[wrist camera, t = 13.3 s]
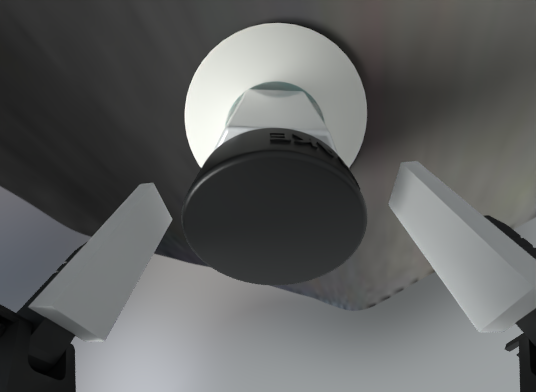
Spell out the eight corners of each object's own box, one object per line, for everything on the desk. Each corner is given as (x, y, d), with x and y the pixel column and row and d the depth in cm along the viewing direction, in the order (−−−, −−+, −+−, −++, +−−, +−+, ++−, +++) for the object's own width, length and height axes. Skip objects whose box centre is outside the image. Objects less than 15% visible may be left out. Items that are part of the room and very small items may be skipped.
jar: (332, 158, 20) (388, 266, 10) (258, 190, 22) (248, 302, 13) (294, 59, 15) (332, 90, 6) (206, 113, 18) (127, 198, 8)
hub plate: (159, 145, 20) (155, 148, 20) (259, -45, 13) (258, -50, 12) (282, 222, 26) (282, 226, 26) (400, 122, 19) (405, 125, 18)
